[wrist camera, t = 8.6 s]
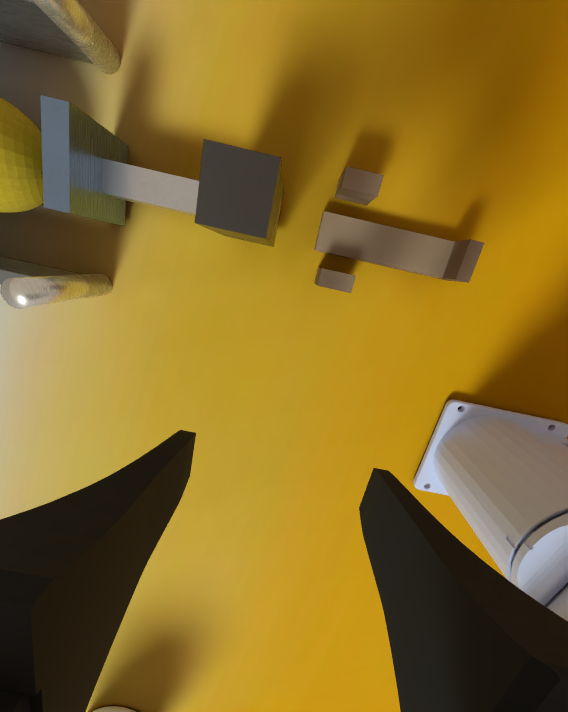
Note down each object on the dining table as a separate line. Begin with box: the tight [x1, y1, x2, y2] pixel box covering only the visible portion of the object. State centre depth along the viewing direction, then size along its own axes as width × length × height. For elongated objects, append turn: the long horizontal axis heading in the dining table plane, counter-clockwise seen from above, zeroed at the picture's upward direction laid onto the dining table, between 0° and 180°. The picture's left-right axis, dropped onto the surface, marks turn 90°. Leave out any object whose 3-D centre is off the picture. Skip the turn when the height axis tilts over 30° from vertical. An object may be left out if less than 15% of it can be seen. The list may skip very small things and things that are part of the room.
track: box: [314, 166, 484, 293], centre depth 18 cm, size 9×6×2 cm
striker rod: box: [40, 95, 284, 247], centre depth 15 cm, size 11×4×7 cm, turn 78°
